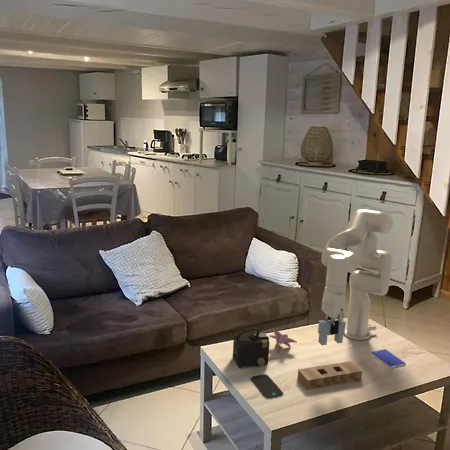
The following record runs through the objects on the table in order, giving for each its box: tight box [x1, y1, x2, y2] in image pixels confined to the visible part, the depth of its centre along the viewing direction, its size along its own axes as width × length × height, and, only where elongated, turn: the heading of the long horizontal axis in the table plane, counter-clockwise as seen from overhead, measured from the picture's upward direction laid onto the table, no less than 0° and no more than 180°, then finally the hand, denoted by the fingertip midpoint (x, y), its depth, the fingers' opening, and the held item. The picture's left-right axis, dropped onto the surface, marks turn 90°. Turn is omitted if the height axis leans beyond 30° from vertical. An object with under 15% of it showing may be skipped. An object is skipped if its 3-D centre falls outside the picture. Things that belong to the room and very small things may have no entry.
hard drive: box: [370, 348, 407, 369], centre depth 205 cm, size 2×8×12 cm
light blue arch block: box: [317, 319, 347, 346], centre depth 185 cm, size 10×3×9 cm, turn 108°
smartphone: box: [250, 373, 284, 400], centre depth 182 cm, size 8×1×15 cm
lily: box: [269, 328, 298, 354], centre depth 209 cm, size 12×12×10 cm
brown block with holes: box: [297, 360, 363, 390], centre depth 187 cm, size 24×8×4 cm, turn 109°
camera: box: [232, 326, 270, 369], centre depth 197 cm, size 11×14×15 cm
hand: (331, 331), depth 185 cm, fingers closed on light blue arch block, 3 cm apart
